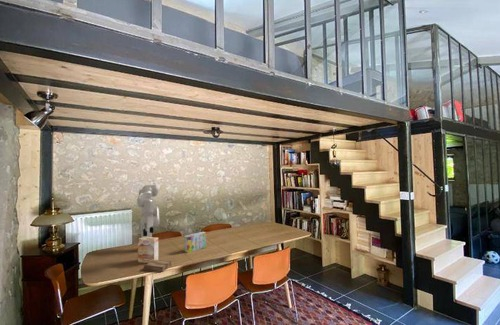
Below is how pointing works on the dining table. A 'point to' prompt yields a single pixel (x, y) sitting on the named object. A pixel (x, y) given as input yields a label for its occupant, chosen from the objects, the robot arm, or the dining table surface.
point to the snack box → (194, 242)
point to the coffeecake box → (147, 249)
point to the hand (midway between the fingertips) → (148, 234)
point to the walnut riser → (157, 265)
